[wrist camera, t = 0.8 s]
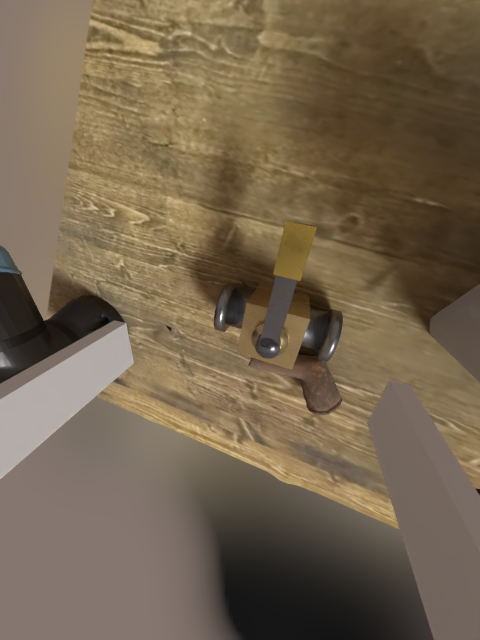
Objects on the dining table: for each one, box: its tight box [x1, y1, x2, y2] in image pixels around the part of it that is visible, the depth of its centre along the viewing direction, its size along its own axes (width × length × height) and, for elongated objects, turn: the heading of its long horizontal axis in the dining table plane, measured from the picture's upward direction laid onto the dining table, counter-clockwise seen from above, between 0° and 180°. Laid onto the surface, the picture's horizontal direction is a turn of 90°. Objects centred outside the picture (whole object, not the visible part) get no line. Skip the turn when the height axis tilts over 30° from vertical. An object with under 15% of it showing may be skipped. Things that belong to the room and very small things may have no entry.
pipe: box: [249, 354, 342, 415], centre depth 38 cm, size 6×17×10 cm
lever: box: [255, 221, 317, 359], centre depth 24 cm, size 16×3×2 cm, turn 171°
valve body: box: [214, 283, 343, 370], centre depth 32 cm, size 17×8×10 cm, turn 81°
